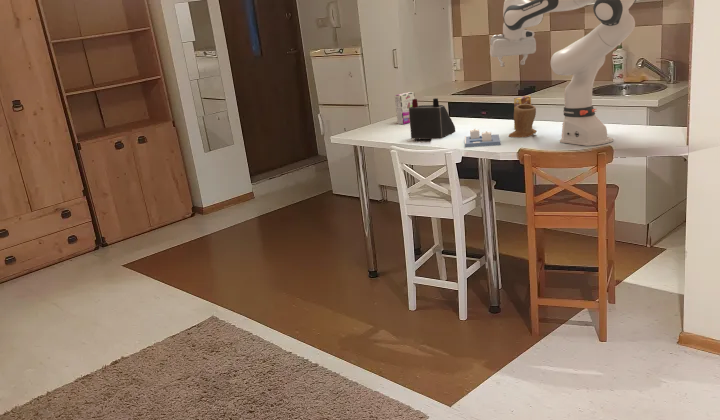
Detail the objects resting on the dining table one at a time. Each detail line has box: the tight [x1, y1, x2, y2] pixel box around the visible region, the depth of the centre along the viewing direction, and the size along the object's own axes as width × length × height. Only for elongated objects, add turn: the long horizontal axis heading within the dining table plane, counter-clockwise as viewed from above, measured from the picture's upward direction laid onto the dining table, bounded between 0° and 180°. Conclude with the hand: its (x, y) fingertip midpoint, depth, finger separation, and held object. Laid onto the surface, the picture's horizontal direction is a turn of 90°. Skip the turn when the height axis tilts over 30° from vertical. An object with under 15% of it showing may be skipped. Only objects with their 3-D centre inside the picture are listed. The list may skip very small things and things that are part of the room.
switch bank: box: [464, 134, 501, 148], centre depth 291 cm, size 15×16×3 cm
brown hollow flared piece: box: [507, 104, 537, 138], centre depth 298 cm, size 15×12×15 cm
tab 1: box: [469, 128, 481, 139], centre depth 295 cm, size 4×3×5 cm
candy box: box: [513, 95, 532, 131], centre depth 318 cm, size 9×4×15 cm, turn 134°
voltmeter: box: [409, 97, 456, 142], centre depth 317 cm, size 16×16×20 cm
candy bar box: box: [394, 91, 416, 126], centre depth 368 cm, size 11×5×16 cm, turn 132°
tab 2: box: [481, 130, 492, 142], centre depth 286 cm, size 4×3×5 cm
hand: (512, 65), depth 292 cm, fingers open, 8 cm apart
